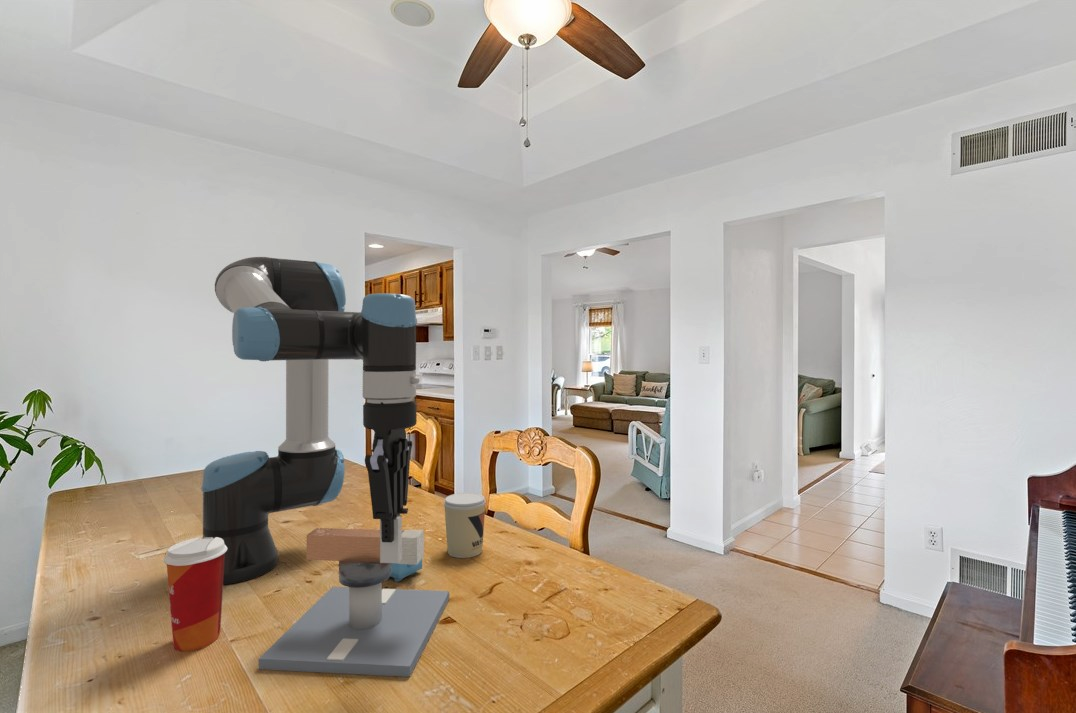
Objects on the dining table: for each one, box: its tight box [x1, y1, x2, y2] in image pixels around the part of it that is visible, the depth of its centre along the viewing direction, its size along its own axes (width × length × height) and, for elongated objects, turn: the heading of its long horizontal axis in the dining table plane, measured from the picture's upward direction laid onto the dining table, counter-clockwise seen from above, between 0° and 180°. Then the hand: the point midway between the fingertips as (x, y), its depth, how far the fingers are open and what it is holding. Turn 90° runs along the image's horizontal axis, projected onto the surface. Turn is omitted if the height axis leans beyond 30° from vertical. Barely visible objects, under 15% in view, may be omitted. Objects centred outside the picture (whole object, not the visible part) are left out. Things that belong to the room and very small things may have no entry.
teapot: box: [389, 558, 423, 582], centre depth 102 cm, size 12×6×8 cm, turn 58°
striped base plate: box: [258, 582, 450, 678], centre depth 82 cm, size 22×22×8 cm
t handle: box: [306, 527, 425, 588], centre depth 82 cm, size 18×8×7 cm, turn 86°
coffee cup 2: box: [443, 492, 487, 559], centre depth 115 cm, size 9×9×12 cm
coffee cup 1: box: [163, 537, 227, 652], centre depth 79 cm, size 8×8×15 cm
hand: (391, 560), depth 75 cm, fingers closed
